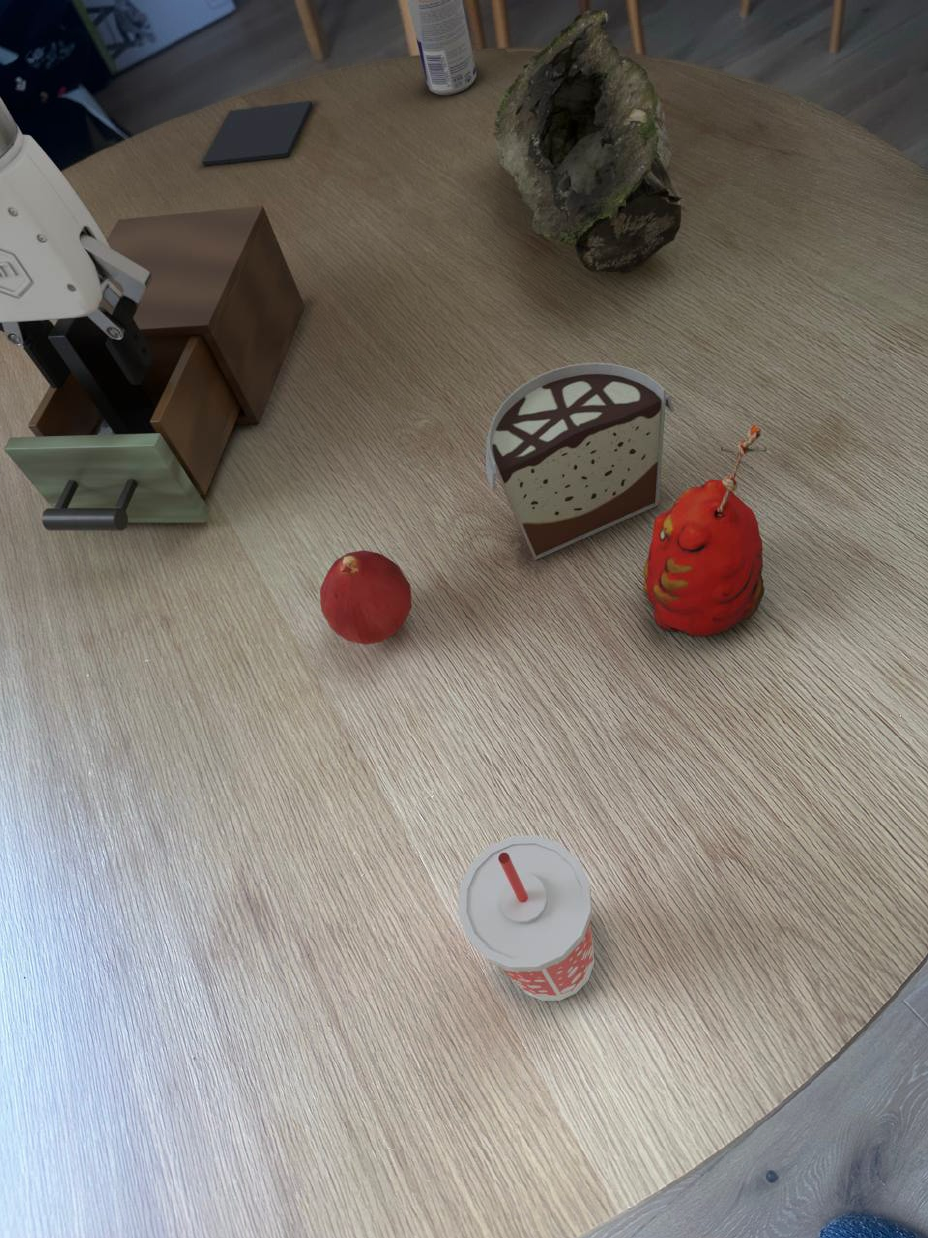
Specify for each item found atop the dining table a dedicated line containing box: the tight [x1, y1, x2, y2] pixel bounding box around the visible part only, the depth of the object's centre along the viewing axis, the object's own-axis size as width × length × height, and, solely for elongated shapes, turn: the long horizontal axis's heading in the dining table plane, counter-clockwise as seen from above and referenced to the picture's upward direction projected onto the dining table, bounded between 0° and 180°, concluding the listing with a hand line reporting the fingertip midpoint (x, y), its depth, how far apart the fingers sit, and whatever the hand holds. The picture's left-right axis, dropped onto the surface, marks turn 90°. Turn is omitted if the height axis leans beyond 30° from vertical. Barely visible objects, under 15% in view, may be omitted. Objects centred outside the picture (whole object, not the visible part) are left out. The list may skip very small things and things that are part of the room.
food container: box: [485, 362, 675, 561], centre depth 65 cm, size 12×6×10 cm, turn 111°
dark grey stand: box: [48, 316, 157, 435], centre depth 73 cm, size 9×6×13 cm, turn 80°
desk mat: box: [202, 100, 313, 167], centre depth 108 cm, size 10×10×1 cm
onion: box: [319, 550, 412, 645], centre depth 63 cm, size 6×6×8 cm
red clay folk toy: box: [642, 424, 768, 638], centre depth 56 cm, size 8×7×15 cm
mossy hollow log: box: [492, 8, 683, 275], centre depth 82 cm, size 28×13×15 cm
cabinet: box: [100, 205, 305, 425], centre depth 82 cm, size 15×14×10 cm
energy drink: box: [406, 0, 477, 96], centre depth 101 cm, size 5×5×12 cm
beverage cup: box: [457, 834, 595, 1002], centre depth 46 cm, size 6×6×14 cm
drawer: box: [3, 334, 241, 532], centre depth 75 cm, size 18×12×8 cm
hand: (103, 371), depth 72 cm, fingers open, 5 cm apart
